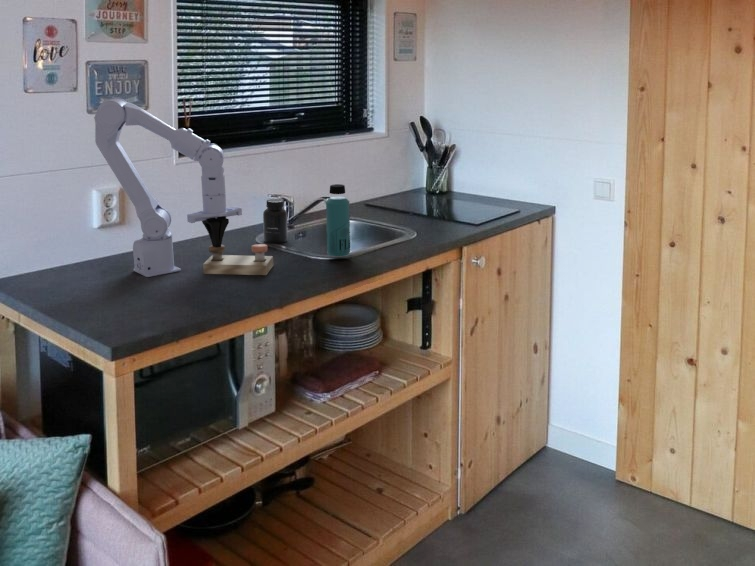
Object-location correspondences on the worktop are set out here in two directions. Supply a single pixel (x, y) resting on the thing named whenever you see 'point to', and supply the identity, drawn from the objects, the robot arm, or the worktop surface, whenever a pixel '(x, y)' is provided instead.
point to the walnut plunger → (217, 252)
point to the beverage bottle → (338, 223)
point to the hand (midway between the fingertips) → (216, 246)
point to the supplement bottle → (275, 222)
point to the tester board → (238, 265)
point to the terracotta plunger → (259, 251)
